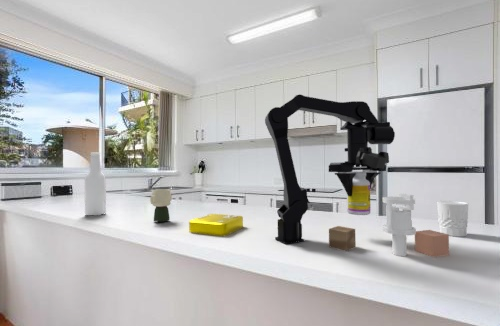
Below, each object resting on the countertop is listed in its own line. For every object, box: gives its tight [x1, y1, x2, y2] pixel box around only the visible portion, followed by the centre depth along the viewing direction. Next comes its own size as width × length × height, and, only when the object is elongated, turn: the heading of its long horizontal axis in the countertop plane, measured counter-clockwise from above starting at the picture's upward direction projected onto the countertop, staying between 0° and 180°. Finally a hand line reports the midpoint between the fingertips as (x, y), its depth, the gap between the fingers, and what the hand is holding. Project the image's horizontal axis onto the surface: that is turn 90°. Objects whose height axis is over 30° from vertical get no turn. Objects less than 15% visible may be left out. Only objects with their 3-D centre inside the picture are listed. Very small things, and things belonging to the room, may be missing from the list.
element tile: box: [188, 213, 244, 237], centre depth 94 cm, size 15×15×5 cm
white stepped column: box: [382, 193, 417, 257], centre depth 65 cm, size 7×7×15 cm
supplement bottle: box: [346, 170, 371, 216], centre depth 80 cm, size 7×7×13 cm
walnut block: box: [328, 225, 357, 252], centre depth 71 cm, size 5×5×5 cm
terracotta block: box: [414, 229, 450, 258], centre depth 66 cm, size 5×5×5 cm
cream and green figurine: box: [149, 188, 173, 223], centre depth 108 cm, size 11×7×13 cm, turn 152°
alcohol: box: [84, 151, 107, 216], centre depth 127 cm, size 9×9×30 cm
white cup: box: [436, 200, 469, 238], centre depth 83 cm, size 8×8×10 cm
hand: (358, 195), depth 80 cm, fingers closed on supplement bottle, 7 cm apart
